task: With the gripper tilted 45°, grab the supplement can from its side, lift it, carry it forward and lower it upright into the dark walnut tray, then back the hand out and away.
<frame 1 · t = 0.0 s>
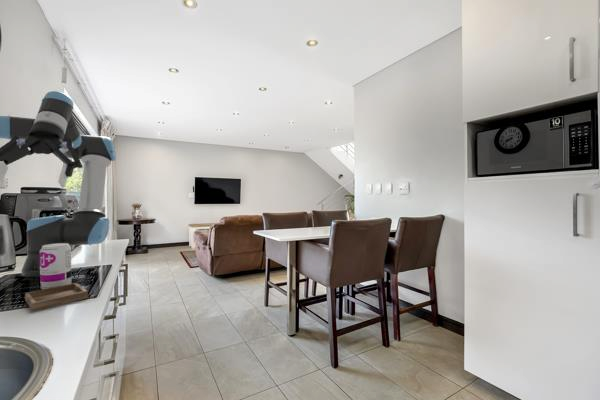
hand: (29, 184, 74), 36 cm above the worktop, tool tilted 35°, fingers open, 13 cm apart
walnut tray: (56, 299, 85), on the worktop
supplement can: (56, 287, 96), on the worktop
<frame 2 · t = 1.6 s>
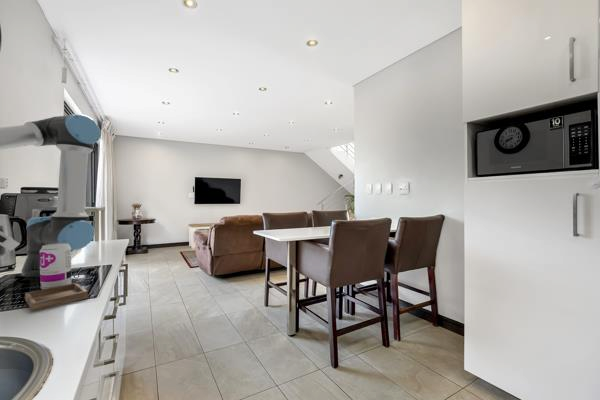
hand: (12, 244, 87), 17 cm above the worktop, tool tilted 45°, fingers open, 13 cm apart
nothing on the worktop moved.
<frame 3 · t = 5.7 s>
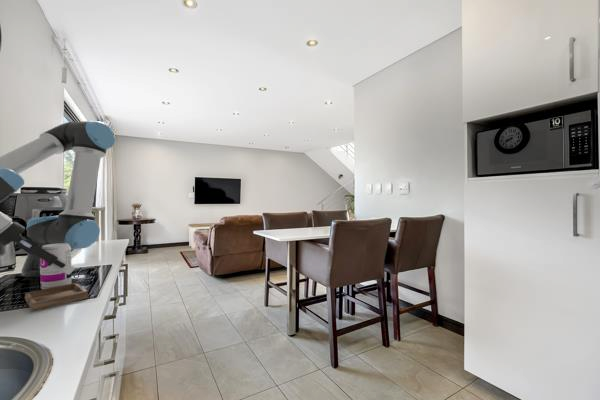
hand: (68, 268, 98), 6 cm above the worktop, tool tilted 45°, fingers closed on supplement can, 8 cm apart
supplement can: (56, 287, 96), on the worktop, touching gripper
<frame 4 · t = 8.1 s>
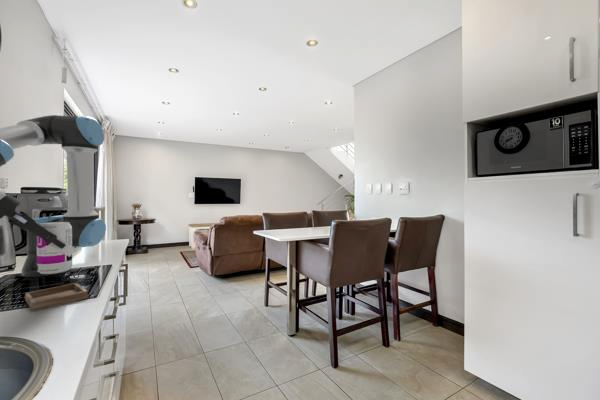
hand: (69, 251, 87), 15 cm above the worktop, tool tilted 45°, fingers closed on supplement can, 8 cm apart
supplement can: (55, 271, 85), point 9 cm above the worktop, touching gripper
when the fingers open (8 cm above the worktop, at t = 10.5 s): supplement can drops 1 cm, resting on walnut tray.
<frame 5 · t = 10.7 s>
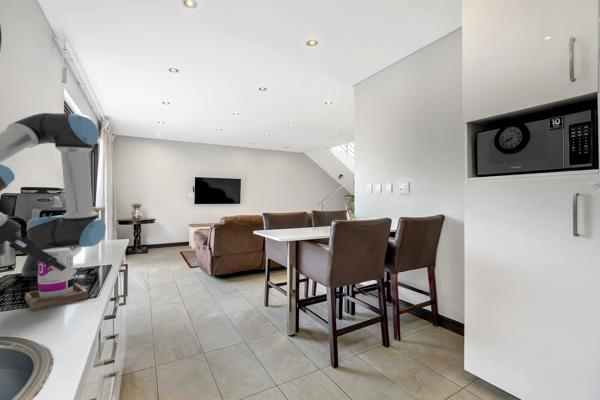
hand: (68, 271, 87), 8 cm above the worktop, tool tilted 45°, fingers open, 11 cm apart
supplement can: (56, 297, 85), resting on walnut tray
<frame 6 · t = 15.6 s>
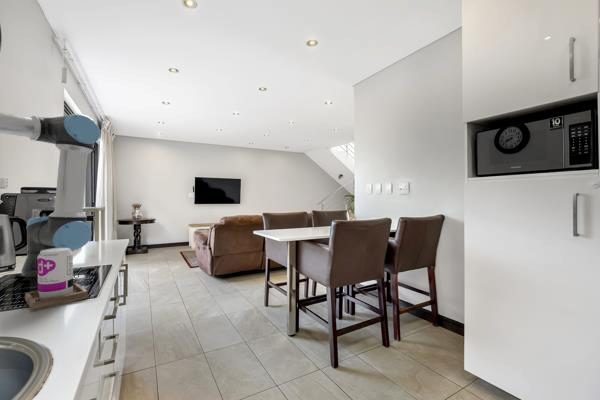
nothing on the worktop moved.
at the end: supplement can 0.1 cm off-centre on the walnut tray, point 0.4 cm above the walnut tray's base; supplement can tilted 0°; the gripper is holding nothing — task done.
